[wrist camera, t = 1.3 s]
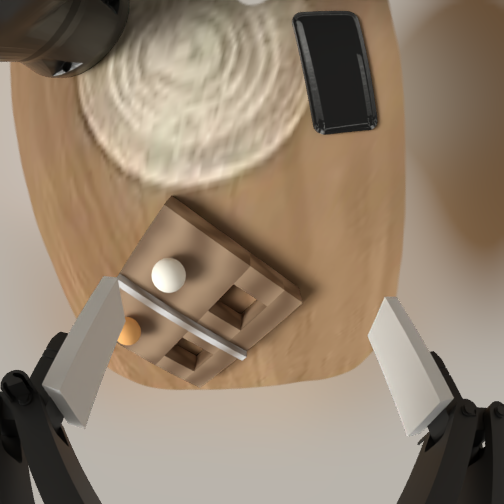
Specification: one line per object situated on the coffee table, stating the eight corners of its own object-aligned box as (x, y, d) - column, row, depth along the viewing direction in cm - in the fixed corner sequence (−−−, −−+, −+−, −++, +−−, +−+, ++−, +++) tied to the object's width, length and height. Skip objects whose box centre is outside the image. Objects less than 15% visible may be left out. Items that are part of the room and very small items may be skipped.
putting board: (97, 311, 43) (86, 330, 39) (171, 195, 35) (161, 208, 30) (202, 372, 49) (199, 393, 45) (298, 287, 41) (304, 308, 37)
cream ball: (150, 268, 35) (141, 286, 32) (167, 245, 34) (158, 262, 30) (177, 285, 36) (170, 305, 33) (194, 264, 35) (189, 283, 31)
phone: (316, 135, 31) (291, 12, 24) (313, 134, 32) (289, 15, 25) (379, 129, 30) (357, 11, 23) (375, 128, 31) (354, 13, 24)
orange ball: (114, 322, 39) (105, 340, 36) (124, 306, 38) (115, 325, 34) (137, 336, 41) (129, 355, 37) (148, 321, 39) (141, 341, 36)
